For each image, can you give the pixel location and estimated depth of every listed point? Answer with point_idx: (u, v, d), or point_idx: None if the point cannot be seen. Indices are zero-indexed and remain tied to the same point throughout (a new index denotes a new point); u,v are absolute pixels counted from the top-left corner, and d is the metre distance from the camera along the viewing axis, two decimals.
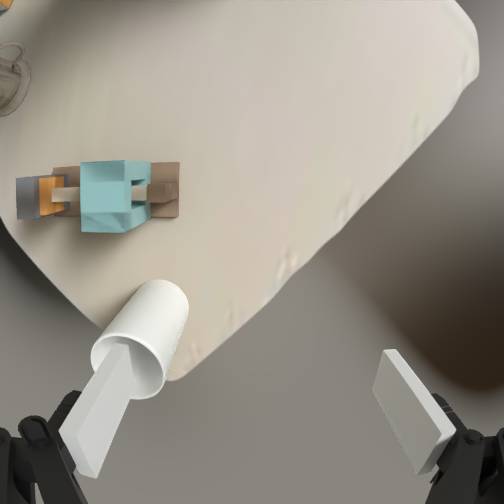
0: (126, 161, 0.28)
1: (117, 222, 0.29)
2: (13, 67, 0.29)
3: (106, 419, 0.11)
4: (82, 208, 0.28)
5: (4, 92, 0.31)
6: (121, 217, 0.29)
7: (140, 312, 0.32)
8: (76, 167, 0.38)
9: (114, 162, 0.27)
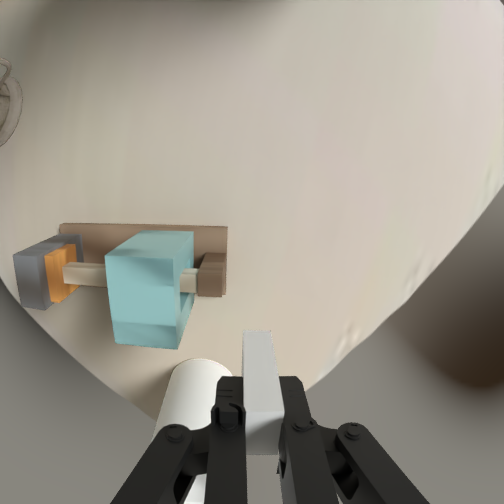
0: (174, 258, 0.21)
1: (166, 337, 0.22)
2: None
3: None
4: (113, 315, 0.21)
5: None
6: (172, 331, 0.22)
7: (194, 421, 0.26)
8: (90, 226, 0.31)
9: (157, 260, 0.20)
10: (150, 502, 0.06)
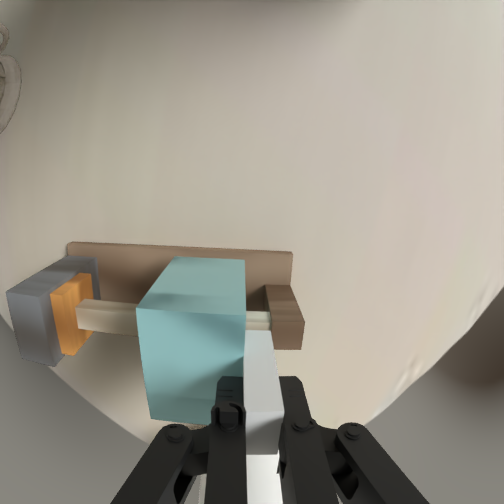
0: None
1: None
2: None
3: None
4: (149, 387, 0.15)
5: None
6: None
7: (255, 489, 0.19)
8: (108, 248, 0.24)
9: (221, 317, 0.14)
10: (150, 502, 0.06)
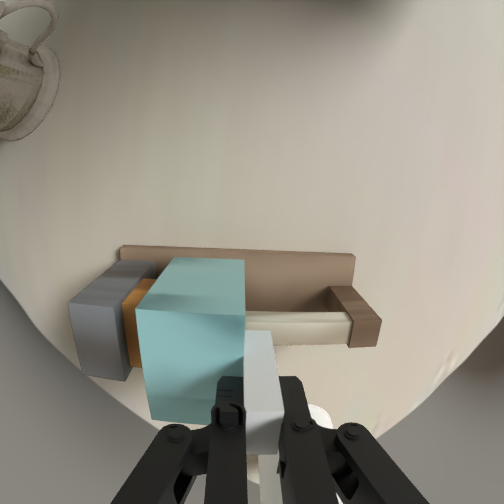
0: None
1: None
2: (31, 54, 0.16)
3: None
4: (149, 388, 0.15)
5: (13, 102, 0.17)
6: None
7: None
8: (168, 252, 0.24)
9: (220, 317, 0.14)
10: (150, 502, 0.06)
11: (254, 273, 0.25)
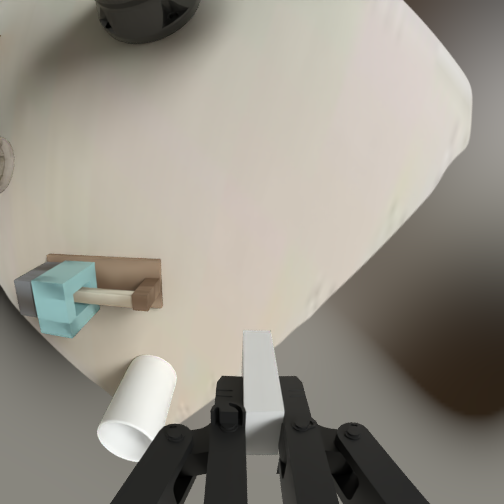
0: (64, 283, 0.31)
1: (65, 330, 0.32)
2: None
3: None
4: (38, 316, 0.32)
5: None
6: (68, 327, 0.32)
7: (134, 397, 0.36)
8: (67, 257, 0.41)
9: (55, 284, 0.31)
10: (150, 502, 0.06)
11: (106, 269, 0.42)
